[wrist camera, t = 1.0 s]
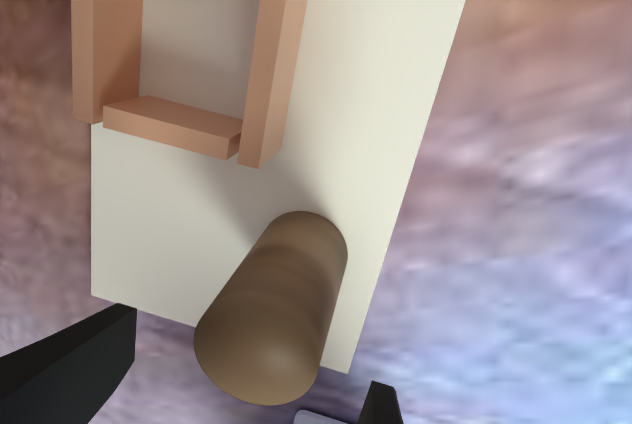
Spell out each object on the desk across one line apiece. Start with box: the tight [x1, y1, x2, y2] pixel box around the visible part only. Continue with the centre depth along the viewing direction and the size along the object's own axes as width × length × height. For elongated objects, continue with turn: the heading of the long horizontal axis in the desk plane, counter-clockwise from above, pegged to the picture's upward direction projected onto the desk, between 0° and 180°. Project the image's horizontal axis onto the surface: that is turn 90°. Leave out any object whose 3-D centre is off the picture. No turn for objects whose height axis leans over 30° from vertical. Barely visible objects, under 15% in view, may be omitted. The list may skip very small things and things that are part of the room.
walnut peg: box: [194, 211, 348, 406], centre depth 17 cm, size 4×4×7 cm
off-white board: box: [91, 0, 465, 374], centre depth 19 cm, size 20×14×1 cm
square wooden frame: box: [71, 0, 308, 169], centre depth 16 cm, size 7×7×3 cm
